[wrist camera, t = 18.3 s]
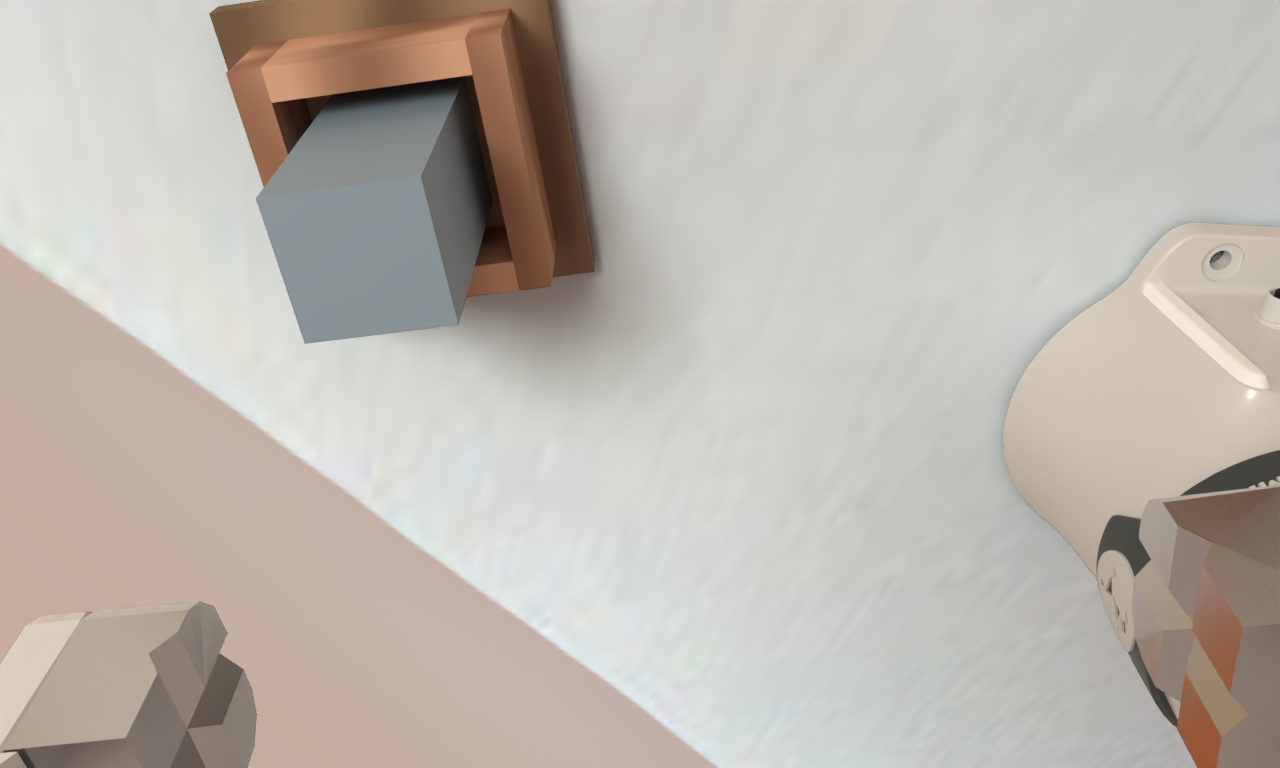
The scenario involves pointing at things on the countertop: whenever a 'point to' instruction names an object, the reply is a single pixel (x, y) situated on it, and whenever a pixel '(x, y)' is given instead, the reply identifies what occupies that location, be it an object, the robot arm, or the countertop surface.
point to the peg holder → (417, 52)
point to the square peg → (381, 211)
